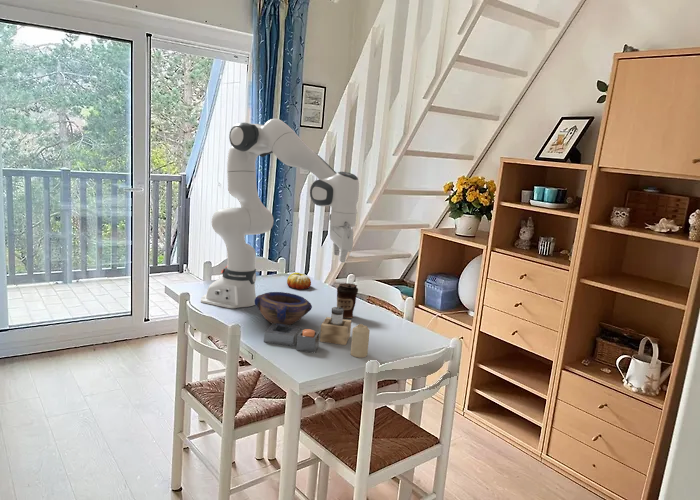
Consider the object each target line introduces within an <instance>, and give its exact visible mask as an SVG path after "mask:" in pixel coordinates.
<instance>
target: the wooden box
mask: <svg viewBox="0 0 700 500" xmlns="http://www.w3.org/2000/svg"><path fill="white" fill-rule="evenodd" d="M351 327H352V320H351V319H346V318H343V321H342V326H338V325H331V316H330V317H328V316H326V318H325V319H324V320H323V322H322V323H321V325H320V333H319V343H320V342H321V343H329V344H336V345H341V346H346V345H347V343H348V341H349V339H350V338H351V330H352V328H351Z"/></svg>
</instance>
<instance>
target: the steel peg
mask: <svg viewBox="0 0 700 500" xmlns="http://www.w3.org/2000/svg"><path fill="white" fill-rule="evenodd" d="M343 311H344V309H343V308H341V307H337V306H334V307H331V316H330V318H331V325H338V326H342V321H343V319H344V318H343Z"/></svg>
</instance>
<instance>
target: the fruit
mask: <svg viewBox="0 0 700 500" xmlns="http://www.w3.org/2000/svg"><path fill="white" fill-rule="evenodd" d="M286 285H287V287H290V289H295V290H300V291H302V290H307V289H309V288H310V287H311V286H312V281H311V278H310V277H309V276H308V275H306V274H305V273H300V272H292V273H291V274H290V275H288V277H287V279H286Z"/></svg>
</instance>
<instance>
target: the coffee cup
mask: <svg viewBox="0 0 700 500" xmlns="http://www.w3.org/2000/svg"><path fill="white" fill-rule="evenodd" d="M357 286H358V285H357V284H355V283H351V282H350V283H346V282H345V283H339V284H338V286H337V288H336V307H341V308H343V309H344V311H343V319H353V317H354V314H353V313H354V310H355V306H356V302H357V295H358V293H359V288H358V287H357Z"/></svg>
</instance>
